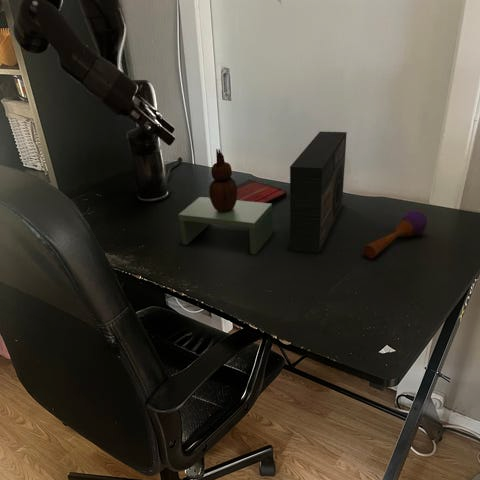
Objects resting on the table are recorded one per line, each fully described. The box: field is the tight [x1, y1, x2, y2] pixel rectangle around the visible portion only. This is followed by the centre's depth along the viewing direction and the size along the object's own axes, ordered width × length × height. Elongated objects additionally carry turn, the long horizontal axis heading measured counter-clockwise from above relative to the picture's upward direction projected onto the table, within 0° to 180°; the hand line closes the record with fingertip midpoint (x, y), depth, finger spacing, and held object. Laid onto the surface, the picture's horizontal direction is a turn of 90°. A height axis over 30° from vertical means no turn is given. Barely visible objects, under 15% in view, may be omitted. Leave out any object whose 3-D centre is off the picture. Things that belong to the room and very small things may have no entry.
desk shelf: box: [177, 196, 274, 255], centre depth 121 cm, size 12×20×8 cm, turn 67°
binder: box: [208, 179, 287, 205], centre depth 143 cm, size 16×2×21 cm
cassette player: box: [289, 131, 347, 254], centre depth 120 cm, size 29×7×20 cm, turn 160°
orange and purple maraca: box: [363, 209, 428, 260], centre depth 113 cm, size 6×6×20 cm
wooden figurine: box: [208, 148, 237, 212], centre depth 114 cm, size 7×6×15 cm
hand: (172, 137), depth 108 cm, fingers open, 8 cm apart
